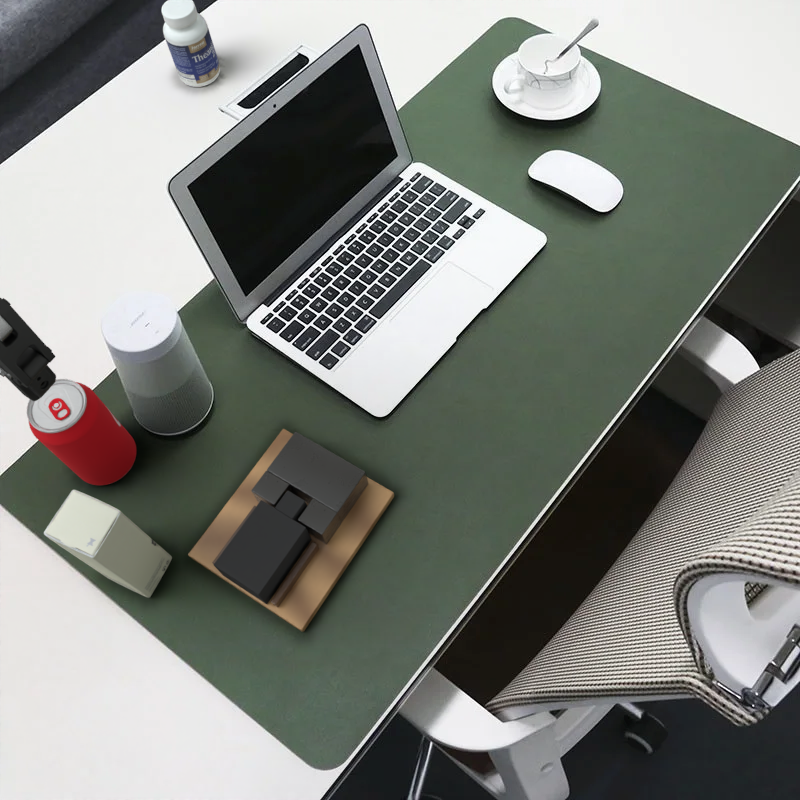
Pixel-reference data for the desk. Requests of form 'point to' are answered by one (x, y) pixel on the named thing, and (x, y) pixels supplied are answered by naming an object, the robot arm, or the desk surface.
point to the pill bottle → (190, 43)
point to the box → (108, 543)
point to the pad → (266, 547)
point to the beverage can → (82, 432)
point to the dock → (323, 559)
